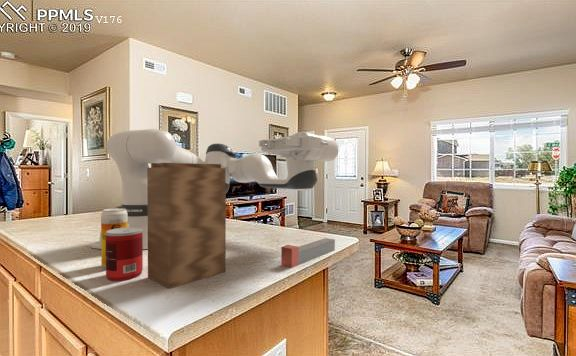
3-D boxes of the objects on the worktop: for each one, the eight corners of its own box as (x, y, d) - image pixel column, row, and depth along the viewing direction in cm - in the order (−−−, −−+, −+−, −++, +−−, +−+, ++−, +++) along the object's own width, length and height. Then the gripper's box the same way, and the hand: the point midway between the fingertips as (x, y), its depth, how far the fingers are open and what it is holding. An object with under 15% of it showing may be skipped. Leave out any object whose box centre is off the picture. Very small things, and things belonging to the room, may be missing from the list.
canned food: (148, 270, 77) (148, 227, 77) (131, 281, 69) (130, 233, 69) (119, 269, 78) (118, 226, 77) (98, 281, 70) (98, 233, 69)
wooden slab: (203, 263, 83) (203, 164, 83) (225, 271, 77) (225, 164, 76) (147, 277, 72) (147, 163, 71) (168, 288, 65) (168, 162, 65)
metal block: (325, 248, 100) (325, 233, 100) (334, 250, 98) (334, 234, 98) (281, 265, 82) (281, 246, 82) (291, 267, 80) (291, 248, 80)
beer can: (104, 270, 77) (103, 211, 76) (99, 265, 81) (98, 209, 81) (130, 266, 81) (130, 209, 80) (124, 260, 85) (123, 207, 85)
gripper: (331, 155, 88) (300, 152, 78) (279, 157, 102) (248, 154, 92) (331, 133, 88) (301, 127, 78) (280, 138, 102) (248, 133, 92)
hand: (272, 142), depth 85 cm, fingers open, 8 cm apart
